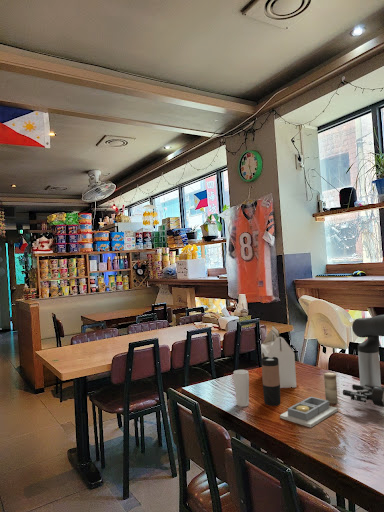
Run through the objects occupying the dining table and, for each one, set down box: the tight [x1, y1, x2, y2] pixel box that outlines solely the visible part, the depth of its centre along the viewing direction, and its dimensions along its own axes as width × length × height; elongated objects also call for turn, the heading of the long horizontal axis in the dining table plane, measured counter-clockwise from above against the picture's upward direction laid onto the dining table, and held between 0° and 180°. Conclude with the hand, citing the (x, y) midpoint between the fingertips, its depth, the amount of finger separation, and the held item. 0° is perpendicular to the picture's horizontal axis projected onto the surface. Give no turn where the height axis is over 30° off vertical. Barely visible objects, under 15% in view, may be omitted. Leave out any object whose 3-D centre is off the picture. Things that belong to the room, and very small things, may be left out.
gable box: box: [260, 325, 297, 389], centre depth 204 cm, size 22×13×28 cm, turn 179°
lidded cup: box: [323, 372, 339, 405], centre depth 172 cm, size 5×5×12 cm
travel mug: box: [261, 357, 282, 407], centre depth 174 cm, size 8×8×20 cm
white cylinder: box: [233, 369, 250, 408], centre depth 174 cm, size 7×7×15 cm
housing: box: [279, 396, 339, 428], centre depth 160 cm, size 21×14×4 cm, turn 132°
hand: (347, 389), depth 166 cm, fingers open, 8 cm apart
